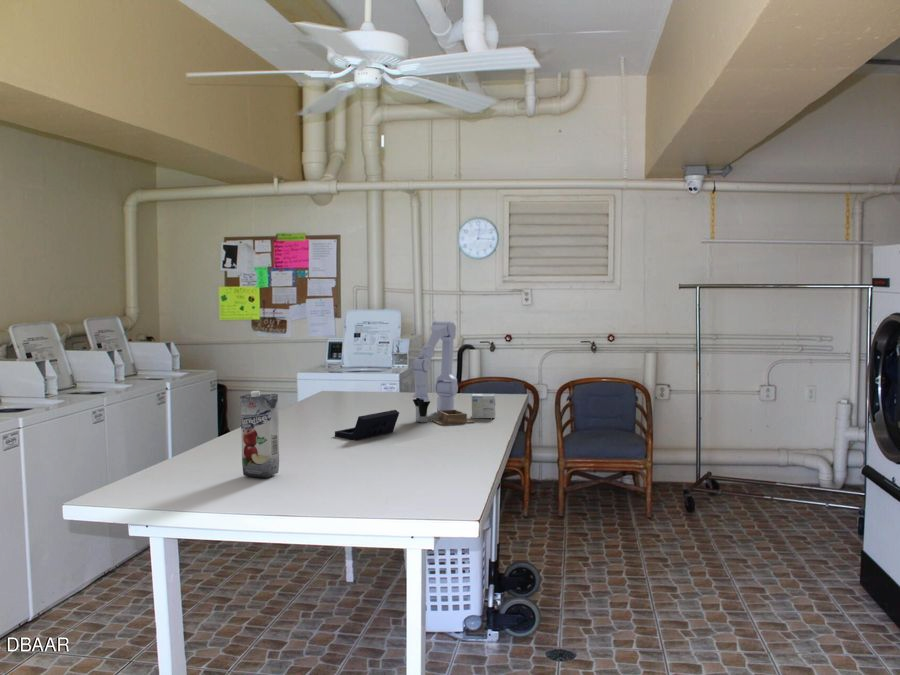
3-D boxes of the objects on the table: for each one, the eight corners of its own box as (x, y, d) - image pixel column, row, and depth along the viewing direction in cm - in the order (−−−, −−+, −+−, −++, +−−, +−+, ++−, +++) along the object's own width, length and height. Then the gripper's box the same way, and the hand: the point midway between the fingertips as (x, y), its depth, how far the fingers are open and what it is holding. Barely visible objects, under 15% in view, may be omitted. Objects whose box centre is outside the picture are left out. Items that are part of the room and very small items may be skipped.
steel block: (415, 421, 329) (415, 405, 328) (424, 420, 330) (424, 405, 330) (418, 422, 325) (418, 406, 324) (427, 422, 326) (427, 406, 326)
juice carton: (255, 470, 240) (253, 388, 239) (283, 472, 237) (281, 389, 235) (238, 476, 232) (236, 391, 230) (266, 479, 228) (264, 392, 227)
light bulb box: (495, 416, 341) (495, 393, 340) (495, 419, 334) (494, 395, 333) (472, 416, 342) (472, 393, 341) (471, 419, 335) (471, 395, 334)
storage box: (371, 429, 311) (371, 406, 311) (399, 434, 301) (399, 410, 300) (334, 437, 295) (334, 412, 295) (362, 442, 285) (362, 417, 284)
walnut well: (430, 420, 332) (429, 411, 332) (463, 417, 337) (462, 408, 337) (440, 425, 319) (440, 415, 319) (474, 422, 324) (474, 413, 324)
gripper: (407, 383, 332) (408, 413, 333) (417, 387, 318) (417, 418, 319) (422, 383, 334) (422, 412, 335) (433, 386, 321) (433, 417, 322)
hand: (421, 415), depth 327 cm, fingers closed on steel block, 4 cm apart
